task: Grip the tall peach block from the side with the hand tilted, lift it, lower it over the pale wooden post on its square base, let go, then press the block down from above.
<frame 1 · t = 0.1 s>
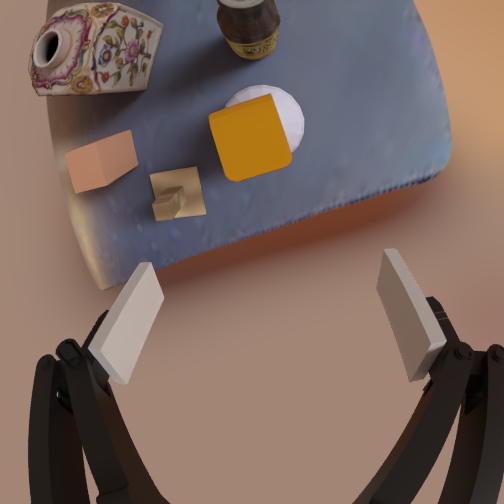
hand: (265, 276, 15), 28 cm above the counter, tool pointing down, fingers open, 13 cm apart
decorative jar: (124, 55, 30), on the counter
soap bottle: (264, 118, 35), on the counter
peach block: (119, 151, 39), on the counter
post: (178, 193, 42), on the counter
sauce bottle: (255, 41, 29), on the counter
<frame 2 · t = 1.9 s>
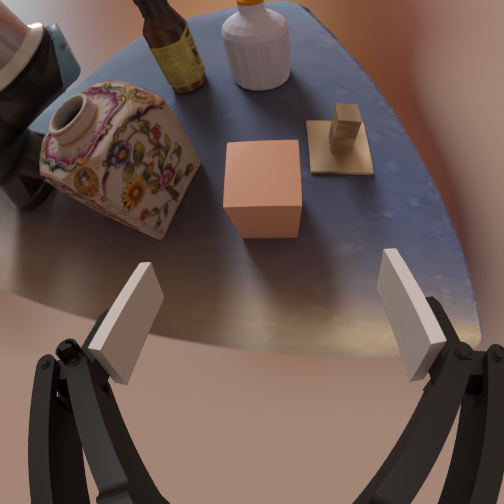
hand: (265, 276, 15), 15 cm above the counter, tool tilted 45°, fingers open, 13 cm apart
decorative jar: (150, 189, 34), on the counter
soap bottle: (261, 74, 37), on the counter
peach block: (269, 212, 31), on the counter
post: (338, 147, 32), on the counter
sauce bottle: (189, 83, 38), on the counter
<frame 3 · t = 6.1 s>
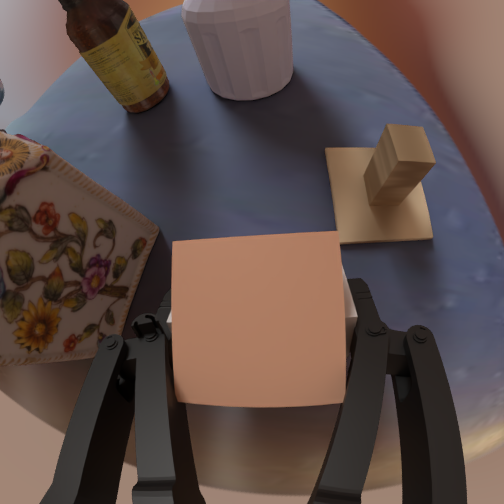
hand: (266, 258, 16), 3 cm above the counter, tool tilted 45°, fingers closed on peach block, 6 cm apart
decorative jar: (94, 270, 22), on the counter
soap bottle: (250, 76, 25), on the counter
peach block: (272, 317, 19), on the counter, touching gripper
post: (379, 193, 20), on the counter
sauce bottle: (147, 96, 26), on the counter
when the fingers open (5 cm above the counter, at t = 11.8 s): peach block stays where it is, resting on post.
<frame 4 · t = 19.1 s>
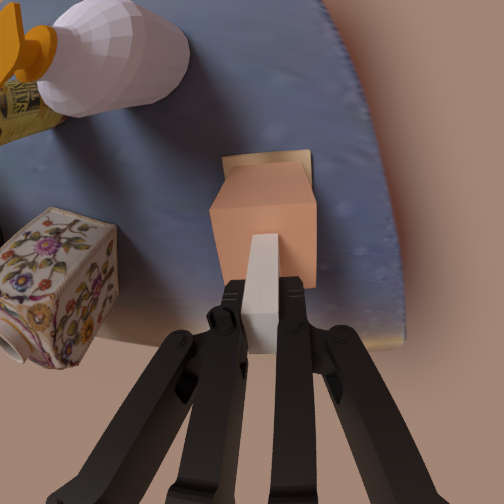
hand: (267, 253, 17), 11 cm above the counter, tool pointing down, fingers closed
decorative jar: (85, 250, 32), on the counter
soap bottle: (147, 61, 19), on the counter
peach block: (269, 195, 25), point 1 cm above the counter, touching gripper, post
post: (269, 192, 26), on the counter
sauce bottle: (59, 99, 21), on the counter
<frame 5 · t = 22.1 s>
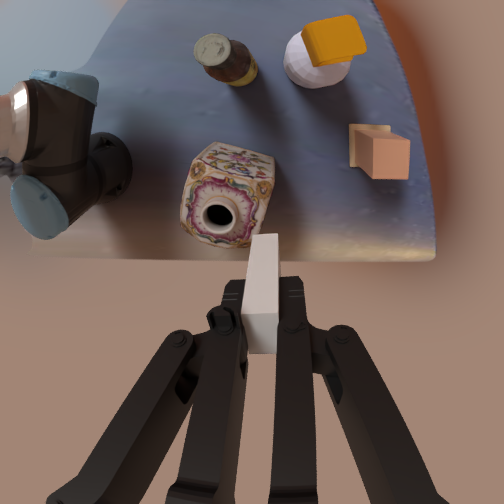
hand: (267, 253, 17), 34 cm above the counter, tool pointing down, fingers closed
decorative jar: (236, 177, 49), on the counter
soap bottle: (309, 64, 37), on the counter
peach block: (370, 146, 43), point 1 cm above the counter, touching post
post: (369, 145, 43), on the counter
sauce bottle: (239, 69, 39), on the counter
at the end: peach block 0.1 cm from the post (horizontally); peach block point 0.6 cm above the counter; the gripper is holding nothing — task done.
